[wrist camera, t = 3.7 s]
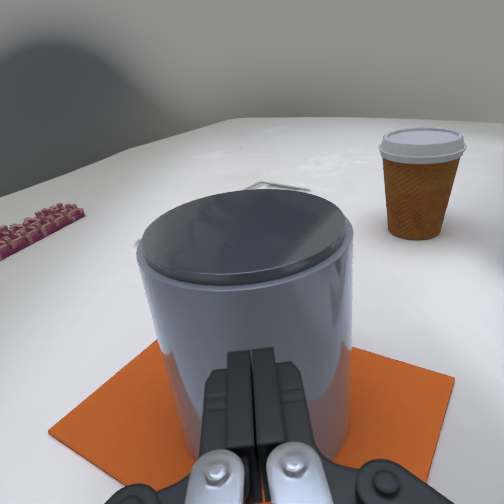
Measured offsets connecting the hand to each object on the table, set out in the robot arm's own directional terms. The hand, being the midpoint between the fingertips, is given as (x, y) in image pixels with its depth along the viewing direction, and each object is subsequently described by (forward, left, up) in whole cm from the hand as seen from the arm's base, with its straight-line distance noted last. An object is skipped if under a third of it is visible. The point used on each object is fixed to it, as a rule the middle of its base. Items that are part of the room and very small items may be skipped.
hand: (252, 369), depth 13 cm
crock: (-6, +9, -14) cm, 18 cm away
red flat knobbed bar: (-57, +21, -15) cm, 63 cm away
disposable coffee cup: (-4, +43, -15) cm, 46 cm away
